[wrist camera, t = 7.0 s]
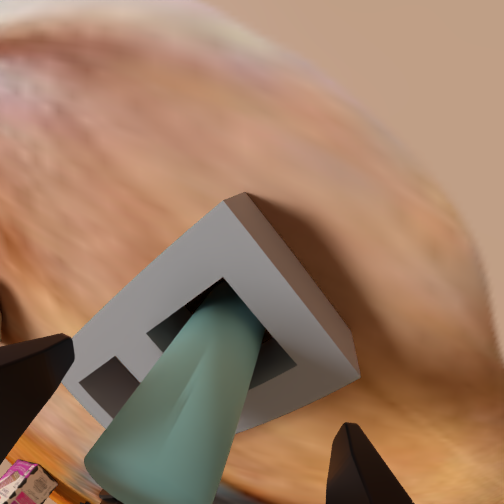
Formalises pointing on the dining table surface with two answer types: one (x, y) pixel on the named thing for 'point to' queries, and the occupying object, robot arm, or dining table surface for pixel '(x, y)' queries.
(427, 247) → the dining table surface
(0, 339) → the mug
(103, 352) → the block
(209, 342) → the peg
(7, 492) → the candy bar box
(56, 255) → the dining table surface
